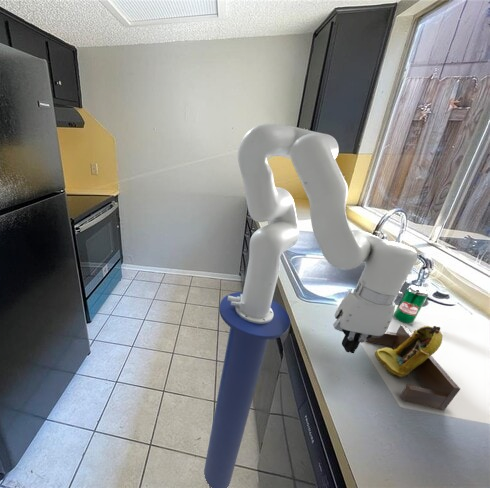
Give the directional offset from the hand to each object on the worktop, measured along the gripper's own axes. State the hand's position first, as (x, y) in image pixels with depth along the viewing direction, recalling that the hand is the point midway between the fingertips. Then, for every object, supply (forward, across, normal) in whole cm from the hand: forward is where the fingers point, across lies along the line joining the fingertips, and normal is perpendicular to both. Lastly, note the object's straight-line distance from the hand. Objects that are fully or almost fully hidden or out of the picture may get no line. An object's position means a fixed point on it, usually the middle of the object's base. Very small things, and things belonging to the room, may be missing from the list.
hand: (347, 348), depth 69 cm
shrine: (+3, -13, +2) cm, 13 cm away
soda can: (+3, -26, -23) cm, 35 cm away
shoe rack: (+3, -12, +1) cm, 13 cm away
